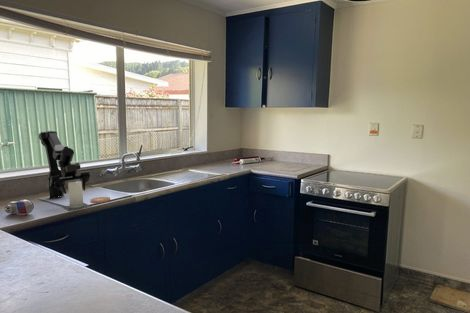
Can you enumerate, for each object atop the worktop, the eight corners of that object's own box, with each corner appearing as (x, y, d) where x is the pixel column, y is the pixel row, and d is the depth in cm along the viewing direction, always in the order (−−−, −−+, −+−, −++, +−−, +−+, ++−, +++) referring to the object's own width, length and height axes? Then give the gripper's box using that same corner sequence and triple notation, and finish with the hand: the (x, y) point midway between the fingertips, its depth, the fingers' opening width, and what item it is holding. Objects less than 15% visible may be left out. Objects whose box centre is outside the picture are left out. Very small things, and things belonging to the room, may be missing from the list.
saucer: (89, 204, 179) (88, 202, 179) (92, 199, 189) (92, 197, 189) (109, 202, 181) (108, 200, 181) (111, 198, 191) (111, 196, 191)
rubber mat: (61, 207, 173) (61, 207, 173) (83, 203, 181) (83, 202, 181) (69, 212, 165) (69, 211, 165) (91, 207, 173) (91, 206, 173)
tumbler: (68, 209, 169) (66, 183, 168) (71, 205, 176) (69, 181, 174) (82, 208, 171) (80, 182, 169) (84, 204, 177) (82, 180, 175)
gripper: (49, 160, 168) (57, 185, 161) (87, 156, 180) (97, 179, 174) (46, 174, 175) (54, 198, 168) (83, 169, 187) (92, 192, 180)
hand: (75, 191), depth 172 cm, fingers open, 9 cm apart
